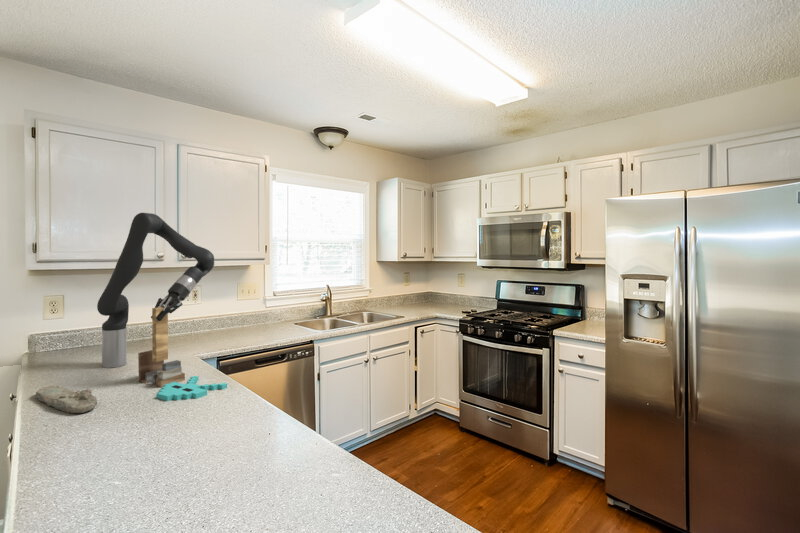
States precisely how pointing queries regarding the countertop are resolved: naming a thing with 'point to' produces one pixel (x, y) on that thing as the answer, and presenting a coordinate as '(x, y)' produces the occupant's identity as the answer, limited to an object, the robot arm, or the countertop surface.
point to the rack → (148, 367)
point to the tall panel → (159, 336)
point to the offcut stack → (170, 373)
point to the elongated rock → (67, 399)
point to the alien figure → (187, 390)
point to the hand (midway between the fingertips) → (155, 319)
